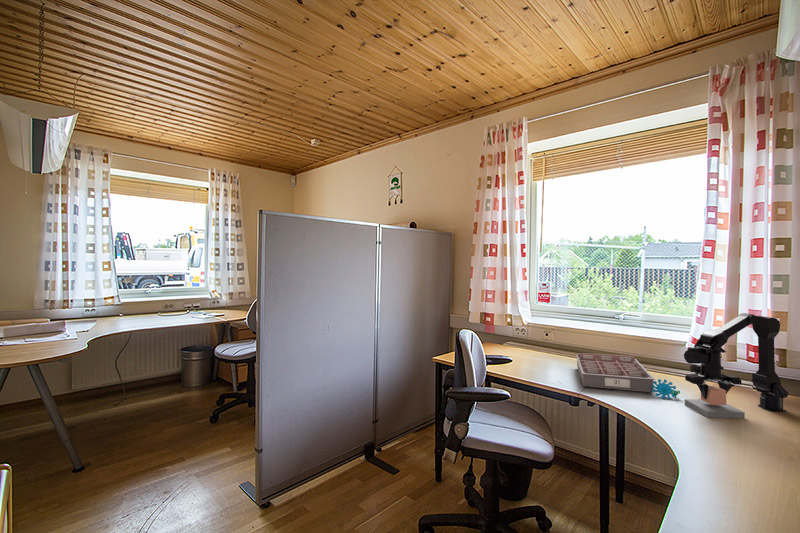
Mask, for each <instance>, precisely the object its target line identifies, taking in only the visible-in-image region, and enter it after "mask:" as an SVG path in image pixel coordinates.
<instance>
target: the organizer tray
mask: <svg viewBox="0 0 800 533" xmlns="http://www.w3.org/2000/svg"><path fill="white" fill-rule="evenodd" d="M575 358H576V365H577V370H578V373H580V374H579V377H580V376H581V377H580V380H581V382H582V386H583V387H590V388H600V389H601V388H602V389H609V390H611V389H612V390H613V389H614V390H623V391H633V392H634V391H635V392H645V393H654V392H653V391H652V389H654V388H652V387H651V386H652V384H653V385H654V383H653V382H654V381H656V378H654V377H653V375H652V374H651V373H650V372H649V371H648V370H647V369H646V368H645V367H644V366H643V365H642V363H640V362H639V361H638V359H636V358H635V356H633V355H618V354H617V355H616V354H603V353H588V352H587V353H584V352H578V353H577V355H575Z"/></svg>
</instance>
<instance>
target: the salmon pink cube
mask: <svg viewBox="0 0 800 533" xmlns="http://www.w3.org/2000/svg"><path fill="white" fill-rule="evenodd" d="M700 399H701V400H703V401H705V402H707V403H709V404H711V405H726V404H727V394H726V390H724V389H721V388H719V386H717V385H708V394H707V399H704V398H703V396H702V393H701V392H700Z"/></svg>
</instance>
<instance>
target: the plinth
mask: <svg viewBox="0 0 800 533" xmlns="http://www.w3.org/2000/svg"><path fill="white" fill-rule="evenodd" d="M684 405H685V406H686V407H687V408H690V409H691V410H693V411H695V412H697V413H698V414H699V415H702V416H703V417H705V418H706V419H745V413H746V412H745V411H743V410H740V409H739V408H737V407H735V406H733V405H730V404H728V403H726V405H711V404H709V403H707V402H705V401H703V400H701V398H700V399H694V398H693V399H692V398H691V399H690V398H688V399H687V398H685V399H684Z"/></svg>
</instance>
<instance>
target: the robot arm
mask: <svg viewBox="0 0 800 533" xmlns="http://www.w3.org/2000/svg"><path fill="white" fill-rule="evenodd" d="M751 325H752V330H753V332H754V334H756V336H757V346H758V347H757V350H758V351H757V352H758V359H757V360H758V368H757V369H758V370H757V371H756V372H752V374H751V382H752V384H753V386H754V388H755V390H756V392H758V393H760V397H759V404H757V406H758V407H760V408H763V409H765V410H767V411H769V412H787V409H785V408H784V399H786V398H788V396H789V392H788V390H787V389H786V388H784V386H782V382H781V378H780V377H779V375H778V374H777V373H776V365H775V364H776V363H775V362H776V356H775V338H776V337H777V335H779V333H780V329H781V322H780V320H778V318H775V317H772V316H771V317H770V316H763V315H755V314H752V313H740V314H738V315H737V317H735V318H733V319H732V320H729V321H728V322H727V323H725V324H723V325H722V326H720V327H718V328H716V329H711V330H707V331H705V332H703V333H701V334H700V337H699V338H698V340H697V341H696V342H695V344H694V345H693V347H691V346H689V347H687V350H685V351H684V353H683V359H684V360H685V362H686V363H687V364H690V365H689V370H690V372H691V373H686V375H685V376H684V379H685V381H687V382H689V383H691V384H693V385H696V386H697V387H698V389H699V390H700V394H701V393H702V396H703V398H704V399H707V394H708V386H709V385H708V384H706V382H716V383H717V384H718V387H719V388H721V389H724V390H726V395H727V394H728V393H729V391H730V390H731V389H732V388H733V387H735V385H738V386H739V385H741V386H742V379H741V378H740V377H739V376H737V375H734V374H731V373H730V374H729V373H722V370H724V366H722V353H727V351H726V350H725V349H724V348H723V346H725V344H727V343H728V341H729V338H731V337H733V336H734V335H736V334H737V333H738V332H741V331H742V330H744V329H745V328H747V327H749V326H751ZM698 364H700V366H698Z"/></svg>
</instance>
